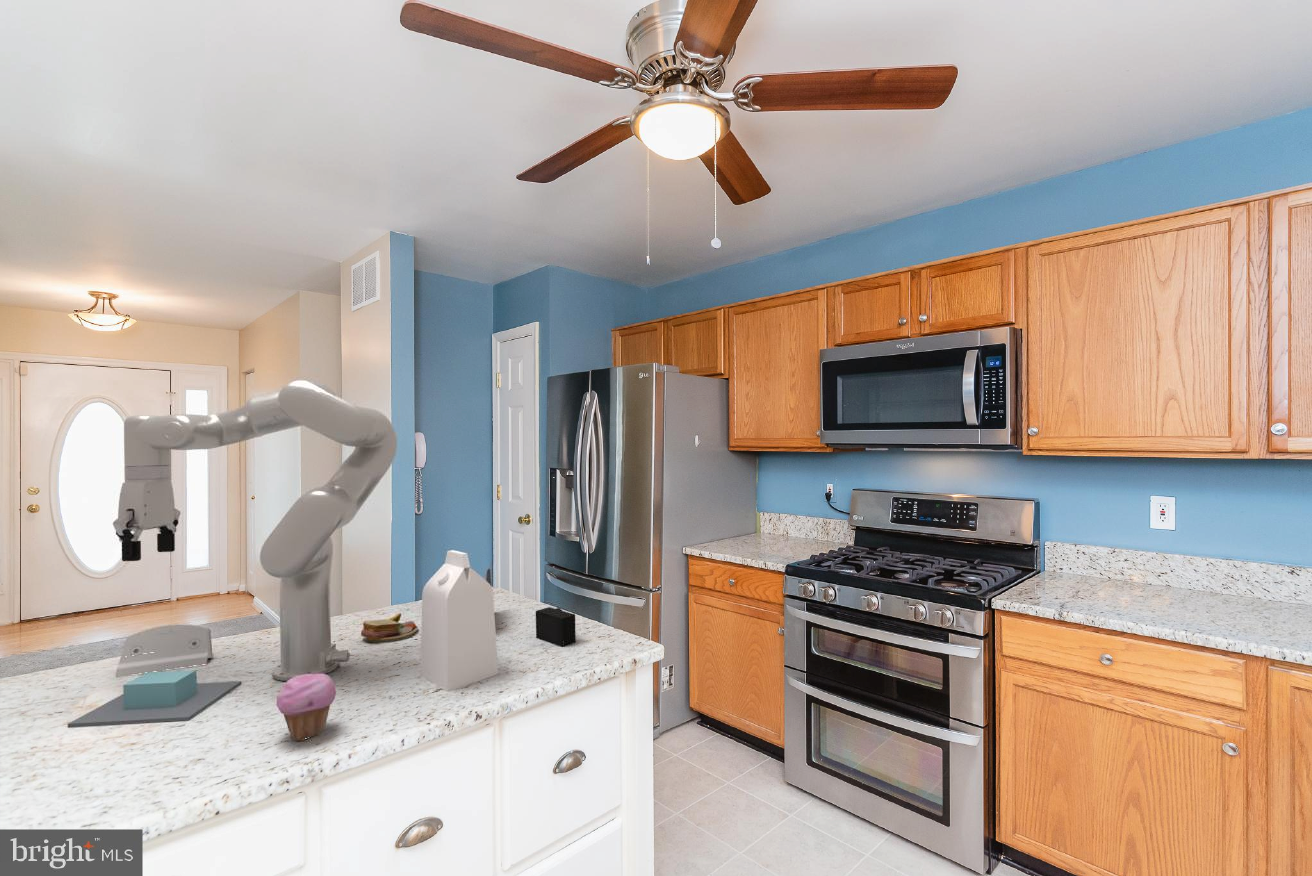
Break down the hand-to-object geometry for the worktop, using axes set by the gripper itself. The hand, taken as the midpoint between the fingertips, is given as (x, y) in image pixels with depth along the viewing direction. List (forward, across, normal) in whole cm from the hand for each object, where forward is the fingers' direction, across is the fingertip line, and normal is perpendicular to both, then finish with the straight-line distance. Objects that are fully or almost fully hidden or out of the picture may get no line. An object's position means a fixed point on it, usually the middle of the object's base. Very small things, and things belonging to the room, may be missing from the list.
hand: (149, 556), depth 126 cm
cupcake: (+26, +28, +44) cm, 58 cm away
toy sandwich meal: (+27, -24, +40) cm, 54 cm away
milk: (+26, +5, +64) cm, 69 cm away
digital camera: (+26, -14, +84) cm, 89 cm away
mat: (+26, +12, +10) cm, 31 cm away
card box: (+26, +12, +10) cm, 30 cm away
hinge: (+27, -10, -3) cm, 29 cm away
